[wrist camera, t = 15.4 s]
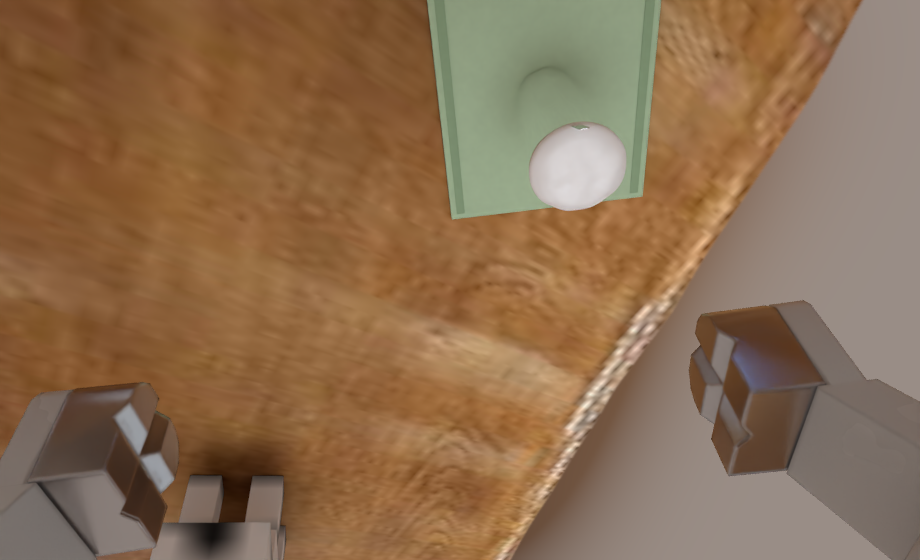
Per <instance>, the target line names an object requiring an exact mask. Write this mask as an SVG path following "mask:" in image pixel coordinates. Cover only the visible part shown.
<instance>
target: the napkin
mask: <svg viewBox="0 0 920 560" xmlns="http://www.w3.org/2000/svg"><path fill="white" fill-rule="evenodd" d="M427 5H428V14H429V23H430V32H431V40H432V49H433V58H434V67H435V76H436V85H437V94H438V102H439V111H440V120H441V129H442V138H443V147H444V156H445V164H446V173H447V182H448V191H449V200H450V209H451V217H452V219H460V218H468V217H476V216H485V215H493V214H501V213H510V212H518V211H526V210H535V209H543V208H551V207H553V206H550V205H548V204H546V203H544V202H542V201H541V200H540V199H539V198H538V197H537V196H536V194H535V193H534V191H533V189H532V186H531V184H530V179H529V171H528V163H527V155H526V143H525V138H524V132H523V127H522V122H521V116H520V111H519V100H518V91H519V89H520V87H521V86H522V84H523V82H524V81H525V79H526V77H527V76H528V75H530V74H532V73H534V72H536V71H538V70H540V69H542V68H552V69H559V70H563V71H564V72H565V73H566V74H567V75H568V76H569V78H570V79H571V80H572V81H573V82H574V83H575V84H576V85H577V87H578V88H579V89H580V91H581V92H582V94H583V95H584V96H585V98H586V99H587V100H588V102H589V103H590V104H591V106H592V107H593V108H594V110H595V111H596V112H597V113H598V114H599V115H600V117H601V118H602V119H603V120H604V121H605V122H606V123H607V125H608V126H609V127H610V128H611V129H612V131H613V132H614V133H615V134H616V135H617V137H618V138H619V139H620V140H621V142H622V143H623V145H624V147H625V150H626V170H625V175H624V178H623V180H622V182H621V184H620V185H619V187H618V188H617V189H616V190H615V191H614V192H613V193H612V194H611V195H610V196H608V197H607V198H605V199H604V200H603V201H609V200H618V199H626V198H634V197H642V195H643V185H644V175H645V164H646V154H647V143H648V133H649V122H650V112H651V101H652V91H653V80H654V70H655V59H656V49H657V39H658V28H659V18H660V7H661V0H427Z"/></svg>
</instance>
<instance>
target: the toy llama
mask: <svg viewBox="0 0 920 560" xmlns="http://www.w3.org/2000/svg"><path fill="white" fill-rule="evenodd" d="M223 496H224V489H223V482H222V476H205V475H190V479H189V483H188V487H187V491H186V495H185V499H184V503H183V507H182V511H181V515H180V519H179V523H163V524H162V528H161V531H160V535H159V539H158V542H157V546H156V547H155V548H153V550H152V554H151V558H150V560H284V553H285V545H286V529H285V526H280V522H281V514H282V506H283V498H284V480H283V476H253V477H252V483H251V489H250V495H249V501H248V507H247V513H246V519H245V522H241V523H218V521H219V516H220V511H221V506H222V501H223Z"/></svg>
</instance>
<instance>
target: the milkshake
mask: <svg viewBox="0 0 920 560" xmlns="http://www.w3.org/2000/svg"><path fill="white" fill-rule="evenodd" d="M518 100H519V111H520V116H521V122H522V127H523V132H524V138H525V143H526V155H527V163H528V171H529V179H530V184H531V186H532V189H533V191H534V193H535V194H536V196H537V197H538V198H539V199H540V200H541V201H542V202H544V203H546V204H548V205H550V206H553V207H555V208H558V209H561V210H566V211H571V210H579V209H585V208H589V207H592V206H594V205H596V204H598V203H600V202H601V201H603V200H604V199H605V198H607V197H608V196H610V195H611V194H612V193H613V192H614V191H615V190H616V189H617V188H618V187H619V185H620V184H621V182H622V180H623V178H624V175H625V170H626V150H625V147H624V145H623V143H622V142H621V140H620V139H619V138H618V137H617V135H616V134H615V133H614V132H613V131H612V129H611V128H610V127H609V126H608V125H607V123H606V122H605V121H604V120H603V119H602V118H601V117H600V115H599V114H598V113H597V112H596V111H595V110H594V108H593V107H592V106H591V104H590V103H589V102H588V100H587V99H586V98H585V96H584V95H583V94H582V92H581V91H580V89H579V88H578V87H577V85H576V84H575V83H574V82H573V81H572V80H571V79H570V78H569V76H568V75H567V74H566V73H565V72H564V71H563V70H559V69H552V68H542V69H540V70H538V71H536V72H534V73H532V74H530V75H528V76H527V77H526V79H525V81H524V82H523V84H522V86H521V87H520V89H519V91H518Z"/></svg>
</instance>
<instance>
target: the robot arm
mask: <svg viewBox="0 0 920 560" xmlns="http://www.w3.org/2000/svg"><path fill="white" fill-rule="evenodd" d="M695 334H696V336H697V338H698V340H699V342H700V346H699V347H698V348H697V349H696V350H695V351H694V352H693V353H692V354H691V359H690V367H689V375H690V385H691V391H692V394H693V398H694V401H695V403H696V406H697V408H698V410H699V413H700V415H701V416H703V417H704V418H706V419H707V420H709V421H710V422H712V423H713V424H714V429H713V434H712V438H711V440H712V442H713V443H714V446H715V448H716V450H717V453H718V455H719V457H720V459H721V461H722V463H723V465H724V468H725V470H726V472H727V474H728V476H736V475H746V474H756V473H767V472H776V471H787V474H788V475H789V476H790V477H792V478H793V479H794V480H795V481H797V482H798V483H799V484H800V485H801V486H802V487H804V488H805V489H806V490H807V491H809V492H810V493H811V494H812V495H813V496H815V497H816V498H817V499H818V500H819V501H821V502H822V503H823V504H824V505H826V506H827V507H828V508H829V509H830V510H832V511H833V512H834V513H835V514H836V515H838V516H839V517H840V518H841V519H843V520H844V521H845V522H846V523H847V524H849V525H850V526H851V527H852V528H854V529H855V530H856V531H857V532H858V533H860V534H861V535H862V536H863V537H864V538H866V539H867V540H868V541H869V542H871V543H872V544H873V545H874V546H875V547H877V548H878V549H879V550H880V551H881V552H883V553H884V554H885V555H886V556H888V557H889V558H890V559H891V560H920V402H919V401H917V400H916V399H913V398H912V397H910V396H908V395H906V394H904V393H902V392H901V391H899V390H897V389H895V388H893V387H891V386H889V385H887V384H885V383H884V382H882V381H880V380H878V379H874V380H866V378H865V377H864V376H863V375H862V373H861V372H860V371H859V369H858V368H857V366H856V365H855V364H854V362H853V361H852V359H851V358H850V357H849V355H848V354H847V353H846V351H845V350H844V349H843V347H842V346H841V345H840V343H839V342H838V340H837V339H836V338H835V336H834V335H833V334H832V332H831V331H830V330H829V328H828V327H827V326H826V324H825V323H824V322H823V320H822V319H821V317H820V316H819V315H818V313H817V312H816V311H815V309H814V308H813V307H812V305H811V304H809V303H808V302H805V301H804V300H803V301H795V302H787V303H781V304H772V305H769V306H758V307H750V308H742V309H735V310H727V311H719V312H712V313H704V314H701V316H700V317H699V319H698V321H697V326H696V331H695ZM158 400H159V397H158V396H157V394H156V392H155V391H154V389H153V387H152V386H151V384H150V383H144V382H139V383H128V384H118V385H108V386H97V387H87V388H77V389H74V390H63V391H53V392H42V393H40V394H39V395H37V396H36V397H35V398H33V399H32V400H31V402H30V403H29V405H28V407H27V409H26V411H25V413H24V415H23V417H22V419H21V421H20V423H19V425H18V427H17V428H16V430H15V432H14V434H13V436H12V438H11V440H10V442H9V444H8V446H7V448H6V450H5V452H4V454H3V456H2V457H1V459H0V560H97V558H96V556H103V555H109V554H116V553H123V552H129V551H136V550H142V549H149V548H155V547H156V546H157V542H158V539H159V535H160V531H161V528H162V524H163V520H164V517H165V513H166V510H167V505H166V503H165V501H164V499H163V498H162V496H161V493H162V492H163V491H164V490H165V489H166V488H167V487H168V486H169V485H170V484H171V483H172V482H173V481H174V480H175V476H176V472H177V468H178V464H179V441H178V437H177V433H176V429H175V427H174V425H173V423H172V421H171V420H170V418H169V417H167V416H165V415H163V414H161V413H159V412H158V411H156V407H157V404H158Z"/></svg>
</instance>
